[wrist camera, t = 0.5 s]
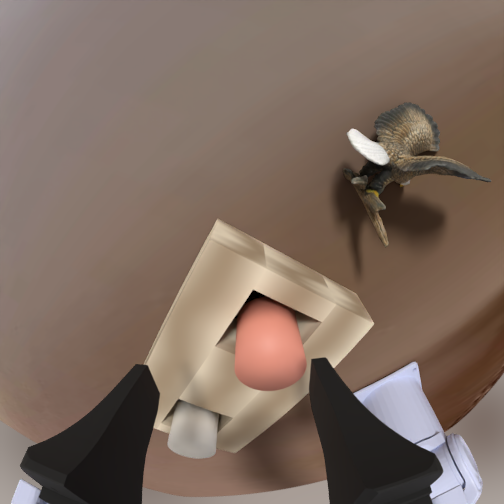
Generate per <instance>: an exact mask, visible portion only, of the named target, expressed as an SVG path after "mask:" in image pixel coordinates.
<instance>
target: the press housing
mask: <svg viewBox="0 0 504 504" xmlns="http://www.w3.org/2000/svg"><path fill="white" fill-rule="evenodd" d="M253 290H255V291H257V292H259V293H261V294H263V295H266V296H268V297H270V298H272V299H274V300H276V301H278V302H280V303H282V304H284V305H286V306H288V307H291V308H293V309H295V310H296V311H295V315H296V319H297V323H298V328H299V332H300V336H301V340H302V344H303V349H304V353H305V357H306V362H307V367H306V371H305V373H304V375H303V376H302V377H301V378H300V379H299V380H298V381H297V382H296V383H294V384H293V385H291V386H289V387H287V388H284V389H280V390H275V391H260V390H255V389H252V388H250V387H248V386H246V385H244V384H243V383H242V382H240V381H239V379H238V378H237V376H236V374H235V370H234V367H235V347H236V328H237V320H236V319H234V317H235V316H236V315H237V313H238V312H239V310H240V309H241V307H242V306H243V304H244V303H245V301H246V300H247V298H248V297H249V295H250V294H251V292H252V291H253ZM373 325H374V322H373V321H372V319H371V317H370V316H369V314H368V312H367V311H366V309H365V307H364V306H363V304H362V302H361V301H360V299H359V297H358V296H357V294H356V293H354V292H352V291H350V290H349V289H347V288H345V287H343V286H341V285H339V284H338V283H336V282H334V281H332V280H330V279H329V278H327V277H325V276H323V275H321V274H319V273H318V272H316V271H314V270H312V269H310V268H309V267H307V266H305V265H303V264H301V263H299V262H298V261H296V260H294V259H292V258H290V257H288V256H286V255H285V254H283V253H281V252H279V251H277V250H275V249H274V248H272V247H270V246H268V245H266V244H264V243H262V242H261V241H259V240H257V239H255V238H253V237H251V236H249V235H247V234H246V233H244V232H242V231H240V230H238V229H236V228H234V227H233V226H231V225H229V224H227V223H225V222H223V221H221V220H219V219H217V220H216V222H215V224H214V226H213V228H212V230H211V231H210V233H209V235H208V237H207V239H206V241H205V243H204V244H203V246H202V248H201V250H200V252H199V254H198V256H197V258H196V259H195V261H194V263H193V265H192V267H191V269H190V271H189V273H188V275H187V277H186V279H185V281H184V283H183V285H182V287H181V288H180V290H179V292H178V294H177V296H176V298H175V300H174V302H173V304H172V306H171V308H170V310H169V312H168V314H167V317H166V319H165V321H164V323H163V325H162V327H161V329H160V331H159V333H158V335H157V337H156V339H155V341H154V343H153V346H152V348H151V350H150V352H149V354H148V356H147V358H146V360H145V363H144V365H148V367H149V369H150V372H151V374H152V376H153V378H154V381H155V383H156V385H157V388H158V390H159V392H160V399H159V406H158V412H157V416H156V420H155V423H154V427H153V428H156V429H158V430H161V431H163V432H166V433H169V434H170V430H171V425H172V420H173V415H174V411H175V406H176V403H177V401H178V400H179V399H180V400H183V401H186V402H188V403H191V404H194V405H196V406H199V407H202V408H205V409H208V410H210V411H213V412H216V413H219V417H218V429H217V442H216V449H220V450H224V451H228V452H232V453H236V452H238V451H239V450H240V449H242V448H243V447H244V446H246V445H247V444H248V443H250V442H251V441H252V440H253V439H255V438H256V437H257V436H259V435H260V434H261V433H262V432H264V431H265V430H266V429H267V428H269V427H270V426H271V425H272V424H273V423H275V422H276V421H277V420H278V419H279V418H281V417H282V416H283V415H284V414H285V413H286V412H288V411H289V410H290V409H291V408H292V407H293V406H294V405H296V404H297V403H298V402H299V401H300V400H301V399H302V398H303V397H304V396H306V395H307V394H308V393H309V381H310V369H311V359H315V358H323V357H326V358H327V359H328V361H329V362H330V364H331V365H332V367H333V368H334V367H335V366H336V365H337V364H338V363H339V362H340V361H341V360H342V359H343V358H344V357H345V356H346V355H347V354H348V353H349V352H350V351H351V350H352V348H353V347H354V346H355V345H356V344H357V343H358V342H359V341H360V340H361V338H362V337H363V336H364V335H365V334H366V333H367V332H368V331H369V329H370V328H371V327H372V326H373Z"/></svg>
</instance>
